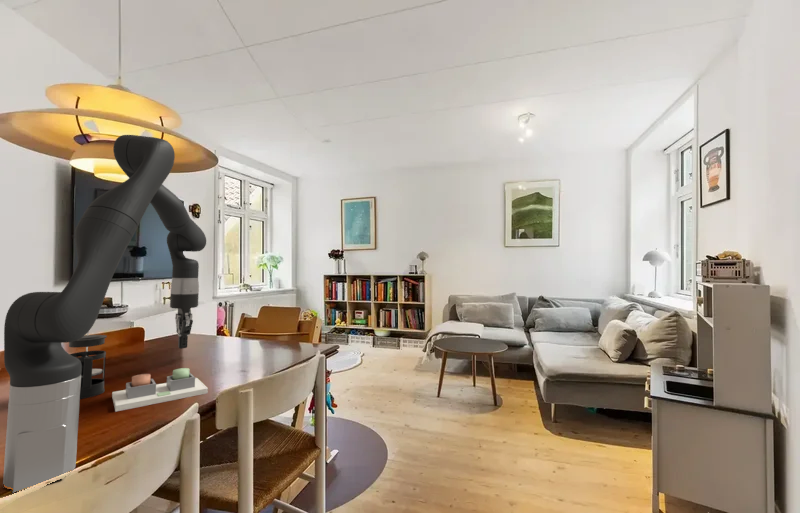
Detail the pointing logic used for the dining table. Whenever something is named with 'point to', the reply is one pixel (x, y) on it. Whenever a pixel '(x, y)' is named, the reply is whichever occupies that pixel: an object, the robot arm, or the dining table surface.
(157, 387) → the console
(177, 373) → the sage button
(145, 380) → the terracotta button
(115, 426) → the dining table surface
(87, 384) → the french press
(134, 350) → the dining table surface
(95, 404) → the dining table surface
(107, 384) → the dining table surface
